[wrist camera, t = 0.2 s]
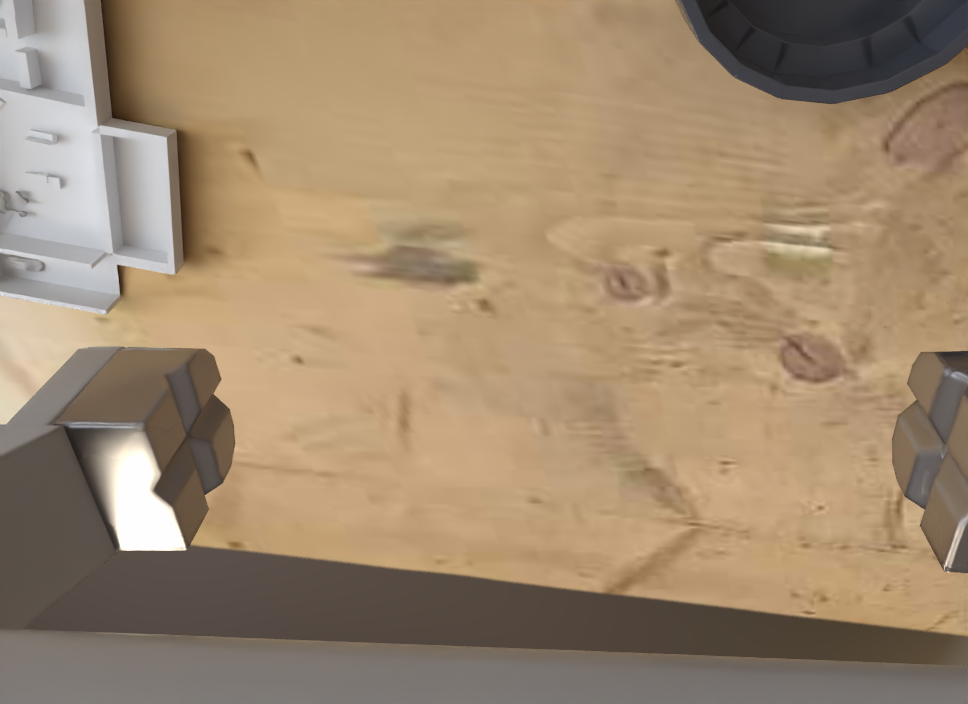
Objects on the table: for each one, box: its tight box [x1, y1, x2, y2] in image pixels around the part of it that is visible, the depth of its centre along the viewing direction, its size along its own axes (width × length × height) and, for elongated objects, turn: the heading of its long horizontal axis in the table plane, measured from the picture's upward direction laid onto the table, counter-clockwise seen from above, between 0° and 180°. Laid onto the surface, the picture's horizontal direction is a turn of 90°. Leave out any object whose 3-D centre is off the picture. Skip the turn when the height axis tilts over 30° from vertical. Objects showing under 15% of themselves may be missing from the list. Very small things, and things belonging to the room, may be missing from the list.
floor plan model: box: [0, 0, 184, 315], centre depth 42 cm, size 19×25×2 cm
